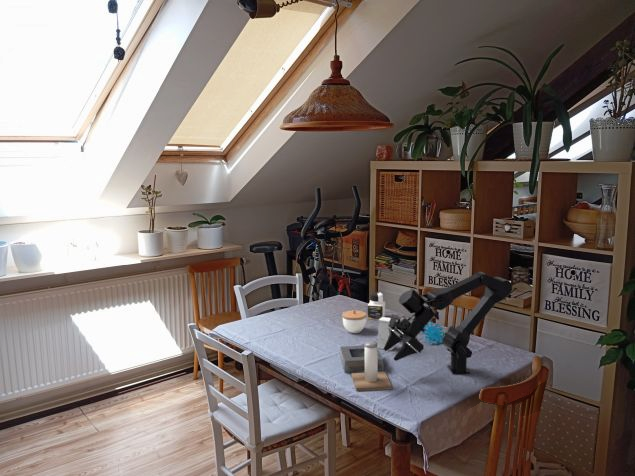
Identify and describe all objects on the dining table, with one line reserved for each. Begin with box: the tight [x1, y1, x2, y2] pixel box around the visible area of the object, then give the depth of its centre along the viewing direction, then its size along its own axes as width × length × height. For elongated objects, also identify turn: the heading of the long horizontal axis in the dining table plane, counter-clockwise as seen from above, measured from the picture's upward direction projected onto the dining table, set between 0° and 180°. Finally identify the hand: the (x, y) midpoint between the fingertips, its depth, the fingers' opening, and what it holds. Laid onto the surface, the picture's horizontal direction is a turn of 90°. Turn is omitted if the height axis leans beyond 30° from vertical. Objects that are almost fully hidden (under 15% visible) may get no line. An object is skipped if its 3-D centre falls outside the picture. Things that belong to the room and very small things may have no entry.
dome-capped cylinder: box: [364, 340, 379, 382], centre depth 184 cm, size 4×4×13 cm
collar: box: [339, 345, 384, 374], centre depth 201 cm, size 14×14×4 cm
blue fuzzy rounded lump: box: [421, 321, 448, 345], centre depth 224 cm, size 11×6×10 cm
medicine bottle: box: [367, 291, 386, 321], centre depth 255 cm, size 7×7×12 cm
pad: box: [351, 371, 393, 392], centre depth 186 cm, size 12×12×1 cm
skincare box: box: [377, 316, 396, 351], centre depth 216 cm, size 6×4×12 cm
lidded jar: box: [341, 309, 368, 334], centre depth 237 cm, size 11×11×9 cm
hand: (389, 354), depth 186 cm, fingers open, 9 cm apart
